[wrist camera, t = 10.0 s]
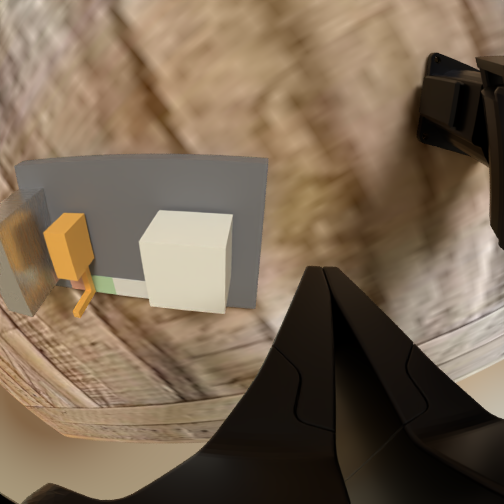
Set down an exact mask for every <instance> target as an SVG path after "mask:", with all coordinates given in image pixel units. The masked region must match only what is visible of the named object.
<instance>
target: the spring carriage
mask: <svg viewBox="0 0 504 504" xmlns="http://www.w3.org/2000/svg"><path fill="white" fill-rule="evenodd" d="M232 226H233V214H218V213H202V212H185V211H166V210H159V211H158V213H157V214H156V216H155V217H154V219H153V220H152V222H151V223H150V225H149V226H148V228H147V229H146V231H145V233H144V234H143V236H142V237H141V239H140V240H139V247H140V253H141V259H142V265H143V271H144V276H145V282H146V287H147V292H148V297H149V302H150V306H154V307H162V308H171V309H180V310H189V311H199V312H209V313H220V314H225V311H226V304H227V298H228V292H229V285H230V279H231V260H232Z"/></svg>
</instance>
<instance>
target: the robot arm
mask: <svg viewBox="0 0 504 504" xmlns="http://www.w3.org/2000/svg"><path fill="white" fill-rule="evenodd" d="M435 57H437V59H438V62H437V63H436V62H435V60H434V58H435ZM475 58H476V63H477V67H478V68H479V69H480V71H479V70H477V69H475V68H473V67H471V66H468V65H466V64H464V63H462V62H459V61H457V60H455V59H452V58H450V57H447V56H445V55H442V54H439V53H431V54H430V55H429V58H428V67H427V75H426V77H425V78H424V82H423V89H422V96H421V102H420V108H419V112H420V120H419V125H418V131H417V138H418V140H419V141H421V142H422V143H424V144H428V145H432V146H436V147H440V148H444V149H447V150H451V151H454V152H458V153H461V154H465V155H468V156H471V157H473V158H475V159H476V160H478V161H480V162H481V163H483V164H484V165H486V166H487V167H489V174H490V213H489V216H490V226H491V227H492V229H493V231H494V233H495V234H496V236H497V238H498V239H499V242H498V245H499V246H500V247H501V248H502V249H503V250H504V56H485V57H475ZM424 133H426V137H425V138H424V139H423V138H422V135H423V134H424ZM0 504H18V503H17V502H15V501H13V500H12V499H10V498H9V497H7V496H5V495H4V494H2V493H1V492H0ZM21 504H504V419H502V418H498V417H496V416H494V415H493V414H491V413H489V412H488V411H487V410H485V409H484V408H483V407H482V406H481V405H480V404H478V403H477V402H476V401H475V400H474V399H473V398H472V397H471V396H469V395H468V394H467V393H466V392H465V391H464V390H463V389H462V388H460V387H459V386H458V385H457V384H456V383H455V382H454V381H453V380H451V379H450V378H449V377H448V376H447V375H446V374H445V373H444V372H443V371H442V370H441V369H439V368H438V367H437V366H436V365H435V364H434V363H433V362H432V361H431V360H430V359H429V358H428V357H427V356H426V355H425V354H424V353H423V352H422V351H421V350H420V349H419V348H418V346H417V345H416V344H414V345H413V341H412V340H411V339H410V338H409V337H408V336H407V335H406V334H405V333H404V332H403V331H402V330H401V329H400V328H399V327H398V326H397V325H396V324H395V323H394V322H393V321H392V320H391V319H390V318H389V317H388V316H387V315H386V314H385V313H384V312H383V311H382V310H381V309H380V308H379V307H378V306H377V305H376V304H375V303H374V302H373V301H372V300H371V299H370V298H369V297H368V296H367V295H366V294H365V293H364V292H363V291H362V290H361V289H360V288H359V287H358V286H357V285H355V284H354V283H353V282H352V281H351V280H350V279H349V278H348V277H347V276H346V275H345V274H344V273H343V272H342V271H341V270H340V269H339V268H337V267H323V268H322V267H320V266H307V267H306V269H305V271H304V274H303V276H302V279H301V281H300V283H299V286H298V288H297V290H296V293H295V295H294V297H293V300H292V302H291V304H290V307H289V309H288V311H287V313H286V316H285V318H284V320H283V322H282V325H281V327H280V329H279V331H278V334H277V336H276V338H275V340H274V342H273V345H272V347H271V348H270V351H269V353H268V355H267V357H266V359H265V361H264V363H263V365H262V367H261V369H260V370H259V372H258V374H257V376H256V377H255V379H254V381H253V382H252V384H251V385H250V387H249V388H248V390H247V391H246V393H245V394H244V396H243V397H242V398H241V400H240V401H239V402H238V404H237V405H236V406H235V408H234V409H233V411H232V412H231V413H230V415H229V416H228V417H227V419H226V420H225V421H224V423H223V424H222V425H221V427H220V428H219V429H218V430H217V432H216V433H215V434H214V435H213V437H212V438H211V439H210V440H209V441H208V442H207V443H206V445H204V446H203V447H202V448H201V449H200V450H199V451H198V452H197V453H196V454H194V455H193V456H192V457H190V458H189V459H187V460H186V461H184V462H183V463H181V464H180V465H178V466H177V467H175V468H174V469H172V470H170V471H169V472H167V473H166V474H164V475H163V476H161V477H160V478H158V479H156V480H155V481H153V482H152V483H150V484H148V485H147V486H145V487H143V488H142V489H140V490H138V491H137V492H135V493H133V494H131V495H129V496H126V497H124V498H120V499H115V500H99V499H94V498H90V497H87V496H85V495H82V494H79V493H77V492H74V491H72V490H69V489H67V488H64V487H62V486H59V485H56V484H53V483H48V484H46V485H44V486H43V487H41V488H40V489H38V490H37V491H35V492H34V493H33V494H31V495H30V496H28V497H27V498H26V499H25V500H24V501H23V502H22V503H21Z"/></svg>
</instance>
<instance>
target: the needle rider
mask: <svg viewBox="0 0 504 504" xmlns="http://www.w3.org/2000/svg"><path fill="white" fill-rule="evenodd" d="M43 234H44V237H45V241H46V244H47V247H48V251H49V254H50V257H51V260H52V263H53V266H54V269H55V272H56V275H57V277H58V278H60V279H67V280H74V281H78V280H79V279H80V278H81V276H82V280H83V283H84V286H85V289H86V290H85V292H84V294H83V295H82V297H81V298H80V300H79V302H78V303H77V305H76V307H75V308H74V310H73V314H74V316H75V317H79V318H81V316H82V315H83V313H84V311H85V309H86V308H87V306H88V304H89V302H90V301H91V299H92V297H93V296H94V294H95V292H96V290H95V287H94V284H93V280H92V277H91V273H90V270H89V267H88V266H89V265H90V263H91V262H92V260H93V259H94V254H93V250H92V246H91V242H90V238H89V233H88V229H87V224H86V220H85V215H84V213H63V214H62V215H61V216H60V217H59V218H58V219H57V220H56V221H55V222H54V223H53V224H52V225H51V226H50V227H49V228H48V229H47V230H46V231H45V232H44V233H43Z"/></svg>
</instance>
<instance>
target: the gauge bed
mask: <svg viewBox="0 0 504 504" xmlns="http://www.w3.org/2000/svg"><path fill="white" fill-rule="evenodd" d="M14 167H15V172H16V177H17V182H18V186H19V189H18V190H17V191H15V192H14V193H13V194H11V195H10V196H9V197H7V198H6V199H5V200H3V201H2V202H1V203H0V293H1V295H2V297H3V299H4V301H5V303H6V305H7V307H8V309H9V311H13V312H16V313H20V314H24V315H28V316H31V317H34V315H35V314H36V312H37V311H38V309H39V308H40V306H41V305H42V303H43V302H44V300H45V299H46V297H47V296H48V295H49V293H50V292H51V290H52V289H53V288H54V286H55V285H56V286H63V287H69V288H75V289H82V290H86V289H85V286H84V283H83V280H82V276H81V278H80V279H79V280H78V281H74V280H67V279H60V278H58V277H57V275H56V272H55V269H54V266H53V263H52V260H51V257H50V254H49V251H48V247H47V244H46V241H45V237H44V234H43V233H44V232H45V231H46V230H47V229H48V228H49V227H50V226H51V225H52V224H53V223H54V222H55V221H56V220H57V219H58V218H59V217H60V216H61V215H62V214H63V213H84V215H85V220H86V224H87V229H88V233H89V238H90V242H91V246H92V250H93V254H94V259H93V260H92V262H91V263H90V265H89V266H88V267H89V270H90V273H91V277H92V280H93V284H94V287H95V290H96V292H102V293H109V294H116V295H124V296H132V297H140V298H148V299H149V297H148V292H147V287H146V282H145V276H144V271H143V265H142V259H141V253H140V247H139V240H140V239H141V237H142V236H143V234H144V233H145V231H146V229H147V228H148V226H149V225H150V223H151V222H152V220H153V219H154V217H155V216H156V214H157V213H158V211H159V210H166V211H185V212H202V213H218V214H233V226H232V260H231V279H230V285H229V292H228V298H227V304H226V307H238V308H251V309H255V307H256V296H257V285H258V274H259V263H260V252H261V241H262V230H263V218H264V207H265V195H266V184H267V172H268V158H257V157H242V156H224V155H199V154H116V155H92V156H75V157H61V158H49V159H38V160H29V161H22V162H21V163H19V164H17V165H16V166H14Z"/></svg>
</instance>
